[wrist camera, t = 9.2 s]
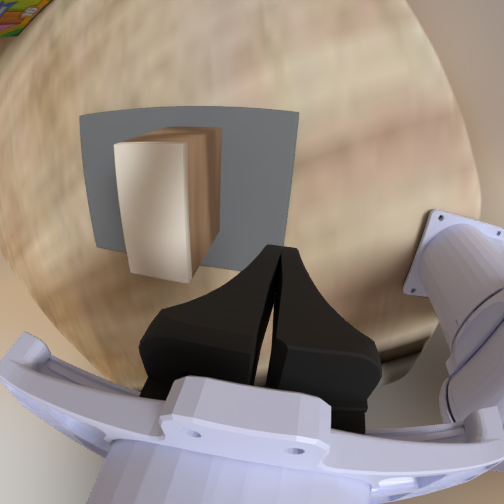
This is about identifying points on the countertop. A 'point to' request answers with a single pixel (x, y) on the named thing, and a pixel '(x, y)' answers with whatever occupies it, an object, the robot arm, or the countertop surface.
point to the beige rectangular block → (169, 199)
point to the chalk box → (18, 15)
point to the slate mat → (232, 173)
